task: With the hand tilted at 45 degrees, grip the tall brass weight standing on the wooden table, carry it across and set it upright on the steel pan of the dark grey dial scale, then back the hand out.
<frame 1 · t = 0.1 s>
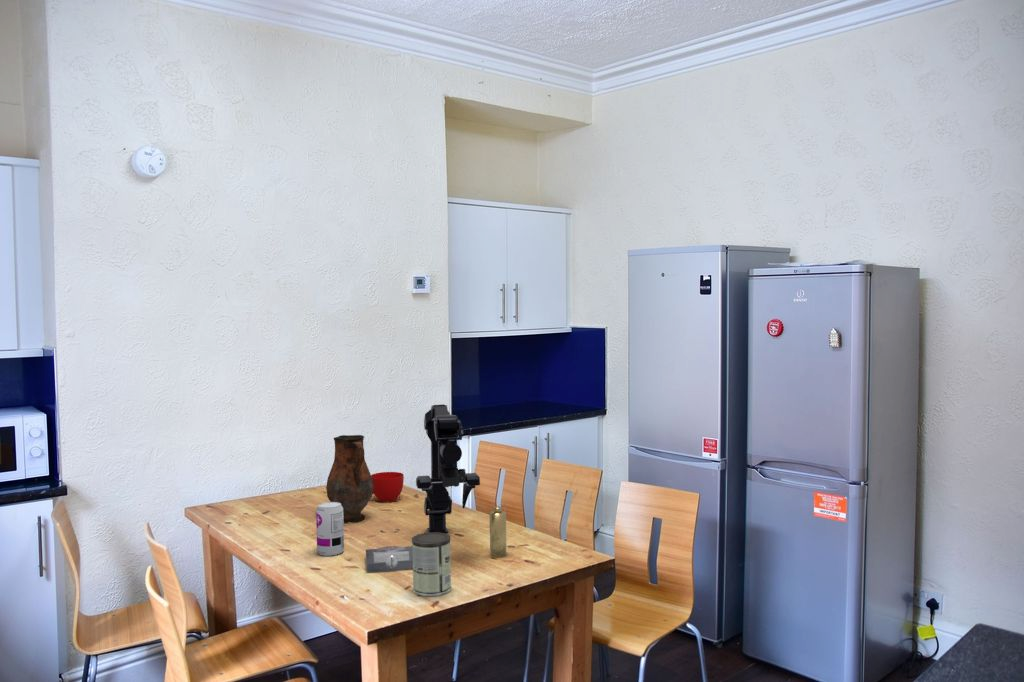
hand: (448, 509, 236), 15 cm above the table, tool pointing down, fingers open, 9 cm apart
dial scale: (390, 563, 231), on the table
pitcher: (352, 520, 280), on the table
supplement can: (330, 553, 242), on the table
brass weight: (498, 554, 238), on the table
coffee can: (431, 590, 209), on the table
ceramic cup: (382, 501, 309), on the table
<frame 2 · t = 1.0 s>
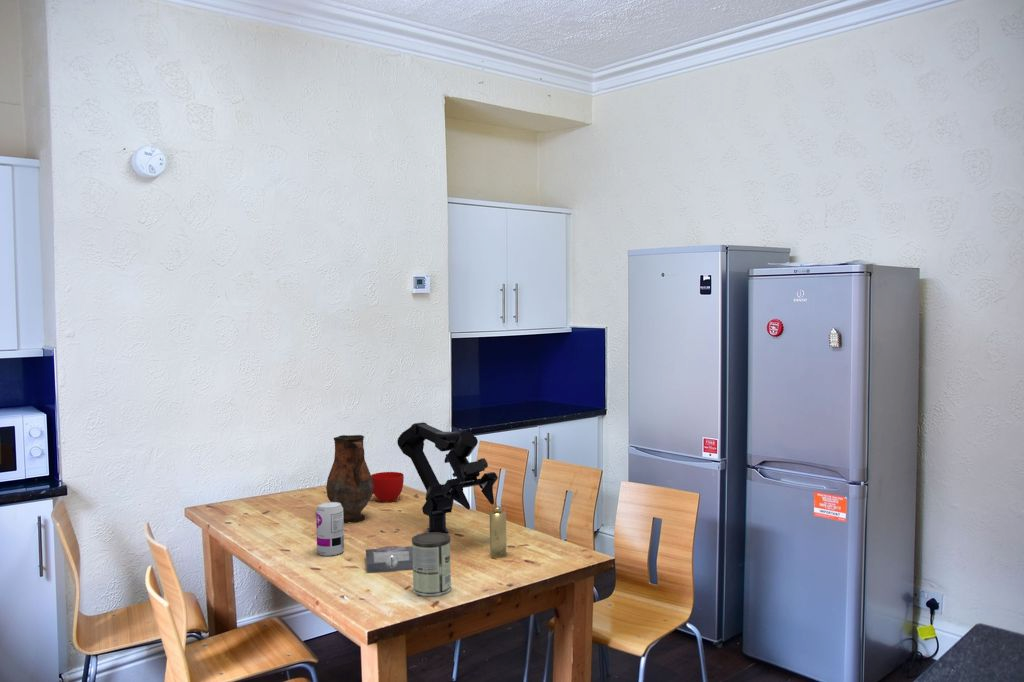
hand: (481, 506, 244), 13 cm above the table, tool tilted 45°, fingers open, 9 cm apart
nothing on the table moved.
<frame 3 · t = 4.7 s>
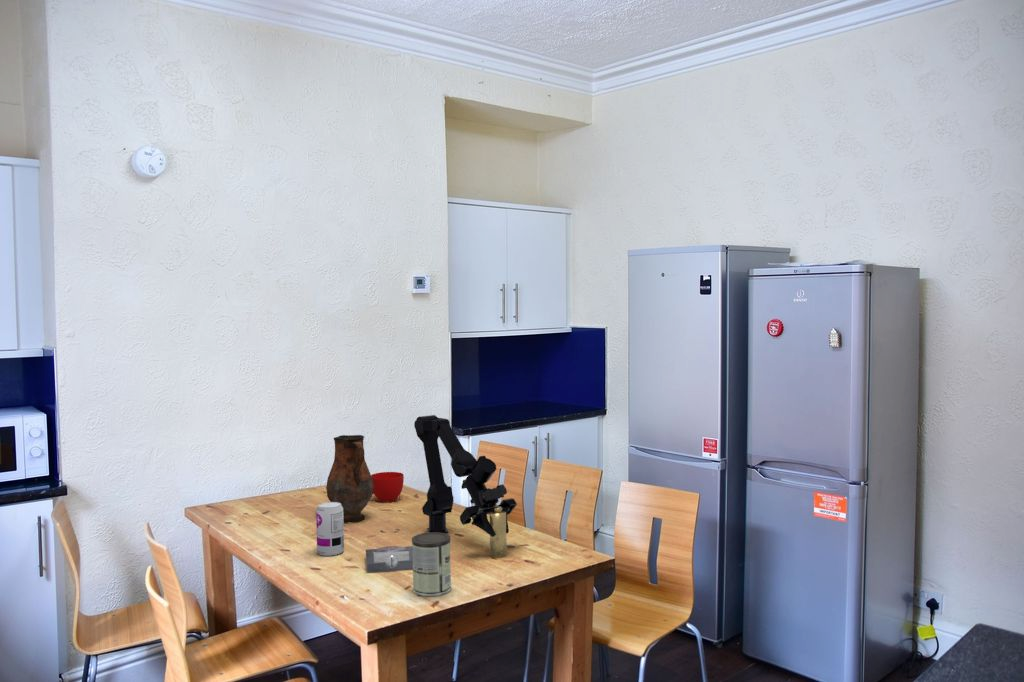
hand: (500, 534, 237), 7 cm above the table, tool tilted 45°, fingers closed on brass weight, 5 cm apart
brass weight: (498, 554, 238), on the table, touching gripper
everything else where it was.
when the fingers open (11 cm above the table, at t = 10.2 s): brass weight stays where it is, resting on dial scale.
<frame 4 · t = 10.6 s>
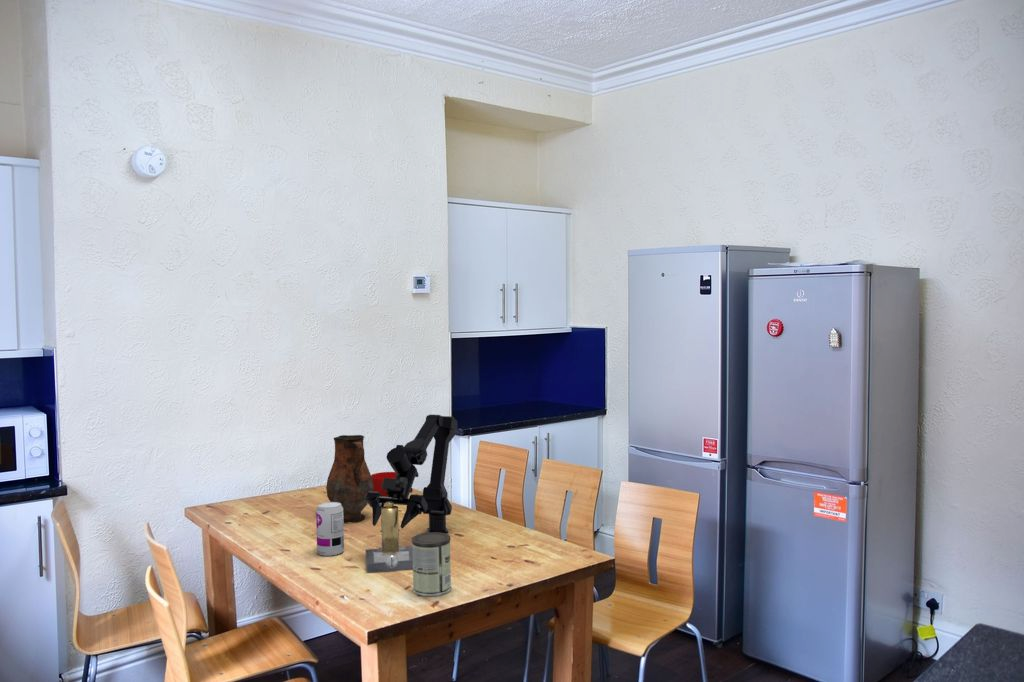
hand: (387, 526, 230), 11 cm above the table, tool tilted 45°, fingers open, 9 cm apart
brass weight: (390, 551, 232), point 3 cm above the table, touching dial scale
everything else where it was.
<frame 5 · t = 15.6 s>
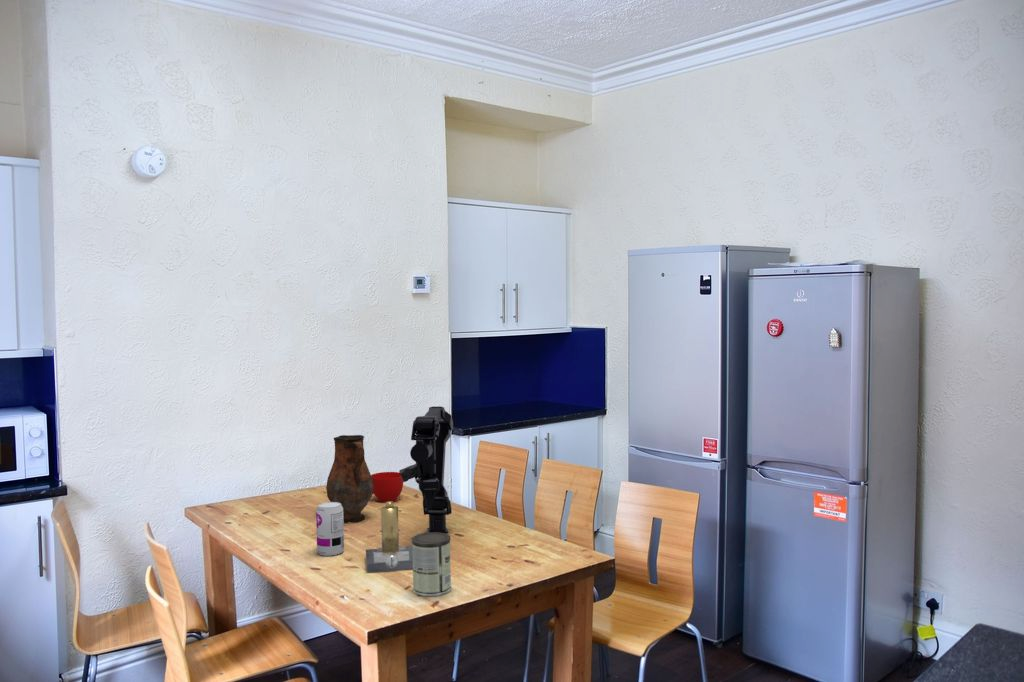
hand: (427, 505, 247), 13 cm above the table, tool pointing down, fingers open, 9 cm apart
nothing on the table moved.
at the end: brass weight inside the target area on the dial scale (0.4 cm from its centre), point 3.3 cm above the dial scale's base; brass weight tilted 0°; the gripper is holding nothing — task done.
